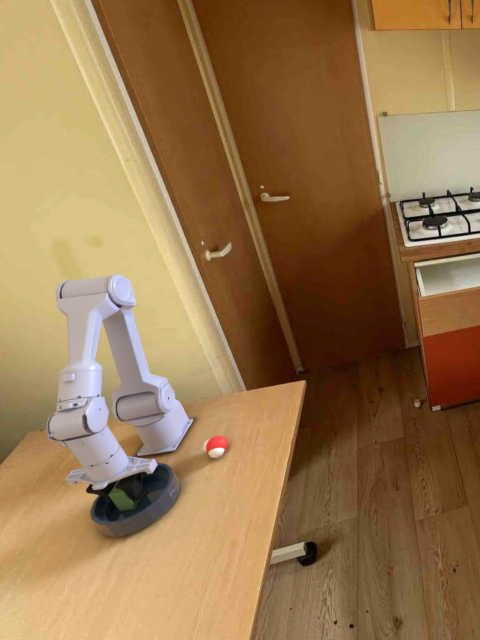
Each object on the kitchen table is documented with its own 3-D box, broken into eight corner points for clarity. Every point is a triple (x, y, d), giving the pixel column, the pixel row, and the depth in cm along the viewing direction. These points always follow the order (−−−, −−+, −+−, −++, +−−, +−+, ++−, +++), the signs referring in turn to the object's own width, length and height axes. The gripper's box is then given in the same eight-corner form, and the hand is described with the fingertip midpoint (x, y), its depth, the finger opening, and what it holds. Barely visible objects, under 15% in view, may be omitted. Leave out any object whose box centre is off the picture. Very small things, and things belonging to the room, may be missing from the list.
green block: (130, 494, 89) (119, 478, 87) (145, 492, 90) (134, 476, 87) (119, 511, 86) (108, 494, 84) (135, 509, 87) (123, 492, 84)
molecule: (233, 443, 102) (228, 431, 100) (222, 461, 97) (216, 448, 95) (212, 444, 101) (206, 432, 99) (200, 462, 97) (193, 449, 95)
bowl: (126, 481, 93) (117, 468, 91) (192, 471, 95) (185, 458, 93) (84, 544, 81) (72, 530, 79) (160, 531, 83) (151, 517, 81)
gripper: (40, 479, 77) (76, 523, 83) (130, 466, 79) (158, 510, 85) (69, 446, 83) (100, 489, 89) (151, 435, 85) (176, 478, 91)
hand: (130, 497), depth 87 cm, fingers closed on green block, 3 cm apart
